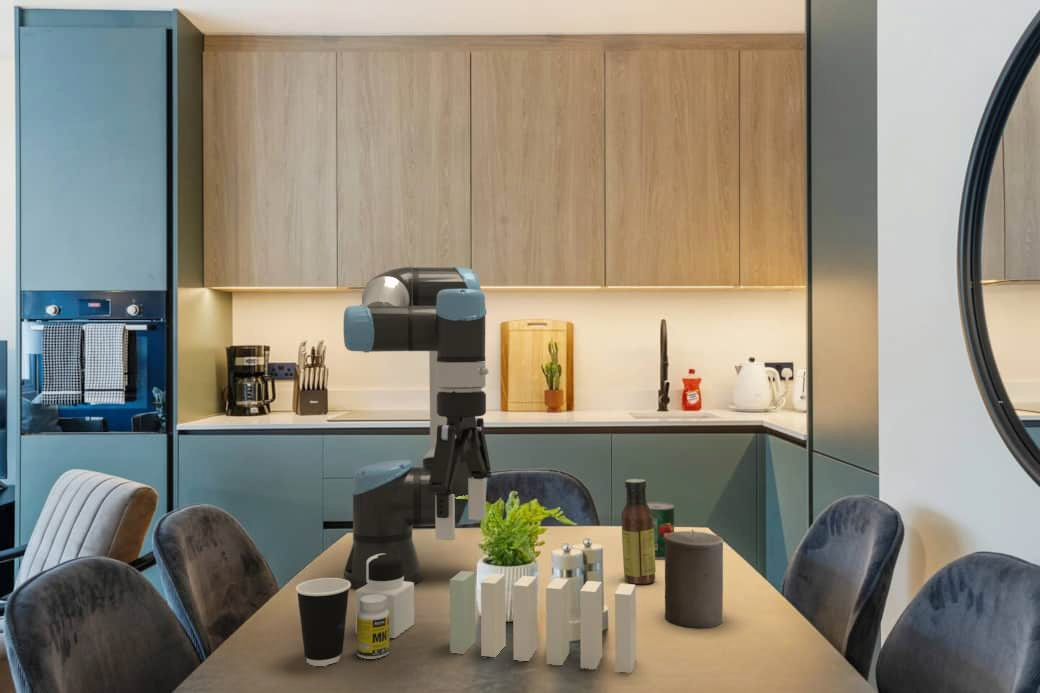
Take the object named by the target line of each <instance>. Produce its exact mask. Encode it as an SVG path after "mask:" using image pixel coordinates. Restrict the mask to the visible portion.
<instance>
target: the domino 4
mask: <svg viewBox="0 0 1040 693" xmlns="http://www.w3.org/2000/svg"><path fill="white" fill-rule="evenodd" d="M602 597H603V582H602V581H594V580H593V581H592V580H586V582H585V583H584V584H583V586H582V587H581V589H580V590H579V605H580V606H579V607H580V608H579V617H580V618H579V619H580V621H579V626H580V627H579V629H580V630H579V631H580V632H579V635H580V641H579V643H580V669H584V668H585V669H586V670H593V669H596V670H597V668H598V666H599V664H600V663H601V660H602V658H603V602H602V601H603V598H602ZM600 659H601V660H600ZM587 668H588V669H587ZM585 669H584V670H585Z"/></svg>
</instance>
